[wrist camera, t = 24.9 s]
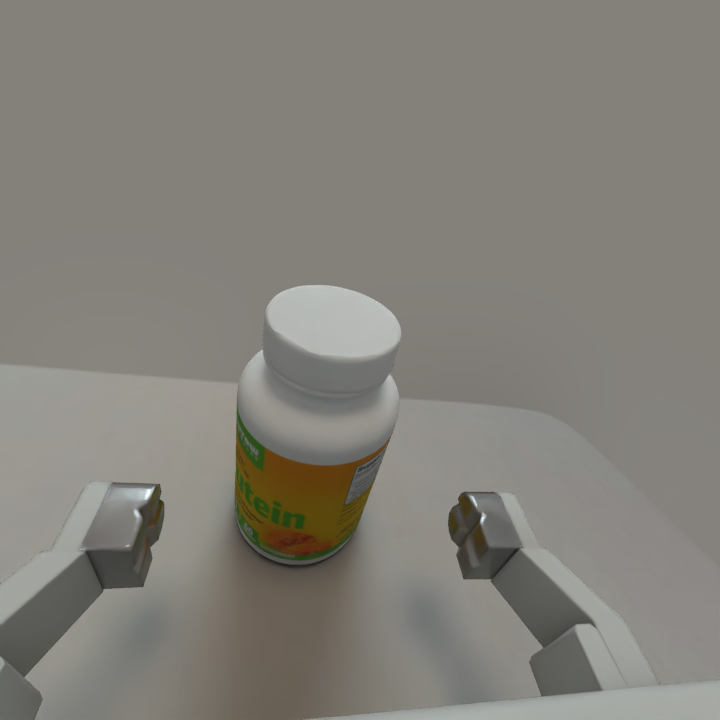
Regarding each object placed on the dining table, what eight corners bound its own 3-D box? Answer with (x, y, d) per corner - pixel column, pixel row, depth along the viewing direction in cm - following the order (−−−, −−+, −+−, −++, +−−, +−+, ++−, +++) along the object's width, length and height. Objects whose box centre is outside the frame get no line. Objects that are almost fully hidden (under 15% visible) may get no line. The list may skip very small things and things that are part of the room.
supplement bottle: (205, 511, 16) (192, 306, 10) (292, 437, 20) (319, 260, 14) (307, 601, 14) (362, 411, 8) (380, 499, 18) (453, 324, 12)
